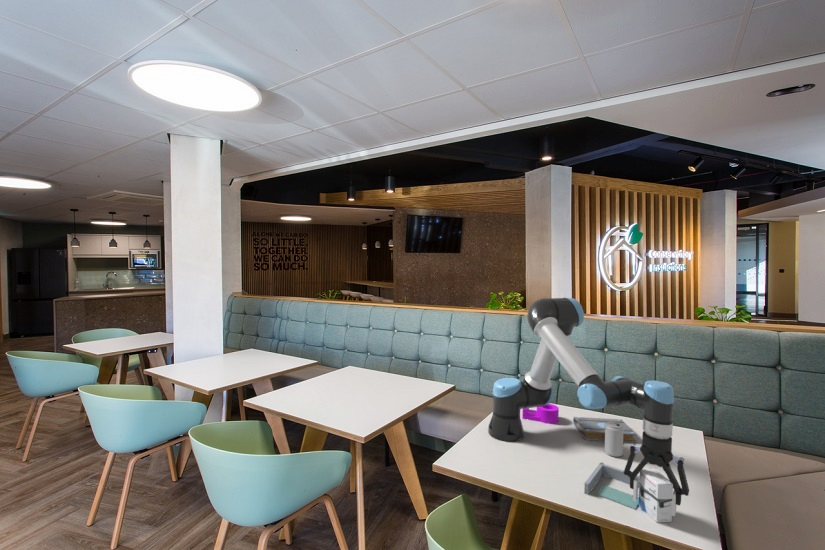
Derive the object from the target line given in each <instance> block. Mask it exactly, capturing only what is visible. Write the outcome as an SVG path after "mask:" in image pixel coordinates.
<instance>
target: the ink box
mask: <svg viewBox="0 0 825 550" xmlns="http://www.w3.org/2000/svg"><path fill="white" fill-rule="evenodd" d="M639 476H640V478H639V488H638V498H639V500H638V506H639V507H640V508H641V509H642V510H643V511H644V512H645V513H646V514H647V515H648V516H649V517H650V518H652V519H653V521H654V522H655V523H672V520H673V519H672V517H673V516H672V497H673V491H674V489H673V484H672V483H671V482H670V481H669V478H668V477H666V476H665V475H663V474H662V473H661V472H660V471H658V470H657V469H656V468H643V469H642V470H641V471H640V472H639Z"/></svg>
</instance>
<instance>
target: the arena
mask: <svg viewBox="0 0 825 550" xmlns="http://www.w3.org/2000/svg"><path fill="white" fill-rule="evenodd" d="M602 476H604V477H608V478H610V479H613V480H616V481H619V482H622V483H624V484H626V485H630V477H629V476H627V475H625V474H624V469H623V470H622V469H619V468H617V467H614V466H610V465H608V464H605V463H601V462H600V463H599V464H598V465H597V466H596V467H595V469H594V470H593V471H592V473H591V474H590V475H589V476H588V478H587V479H586V480H585V482H584V487H583V488H584V492H583V493H584V494H585V495H589V494H590V493H591V491H593V489H594V488H595V486H596V484H597V483H598V482H599V480H600V479H601V478H602ZM636 477H638V489H639V478H640V475H639V474H638V475H637V476H636Z"/></svg>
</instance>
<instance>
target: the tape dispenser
mask: <svg viewBox="0 0 825 550" xmlns="http://www.w3.org/2000/svg"><path fill="white" fill-rule="evenodd" d="M559 411H560V408H559V407H558V406H557V405H556V404H553V403H549V404H548V405H545V406H542V407H536V410H535V409H530V408H525V409H522V419H523V420H527V419H528V420H527V421H534V422H539V423H543V424H548V425H555V424H557V423H559V416H560V415H559Z"/></svg>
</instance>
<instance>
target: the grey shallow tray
mask: <svg viewBox="0 0 825 550" xmlns="http://www.w3.org/2000/svg"><path fill="white" fill-rule="evenodd" d="M609 421H613V422H617V423H620V424H622V425H623V429H624V432H623V443H632V444H636V443H638V441H637V440H636V439H635V438H634V437H633V436H637V435H638V434H637V433H636V432H635V431H634V430H633V429H632V428H631V427H630V426H629V425H628V424H627V423H626V422H625V421H623V419H621V418H620V419H619V418H603V417H602V418H601V417H599V418H598V417H583V416H573V419H572V422H573V423H572V424H573V426H574V427H575V429H576V430H577V431H578V433H579V434H580V435H581V437H582V438H583V440H585V441H597V442H600V441H601V442H605V425H606V424H607V422H609Z"/></svg>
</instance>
